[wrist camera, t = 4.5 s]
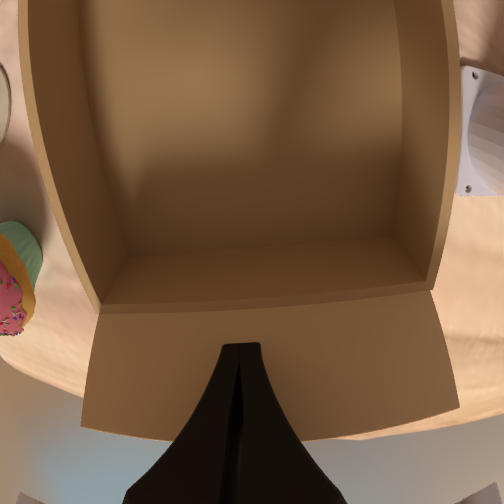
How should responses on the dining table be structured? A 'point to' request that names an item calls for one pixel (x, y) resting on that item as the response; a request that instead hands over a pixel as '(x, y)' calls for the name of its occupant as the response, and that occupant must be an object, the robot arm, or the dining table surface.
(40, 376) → the dining table surface
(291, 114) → the carton
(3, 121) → the wineglass
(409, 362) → the flap
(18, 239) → the cupcake
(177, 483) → the robot arm
